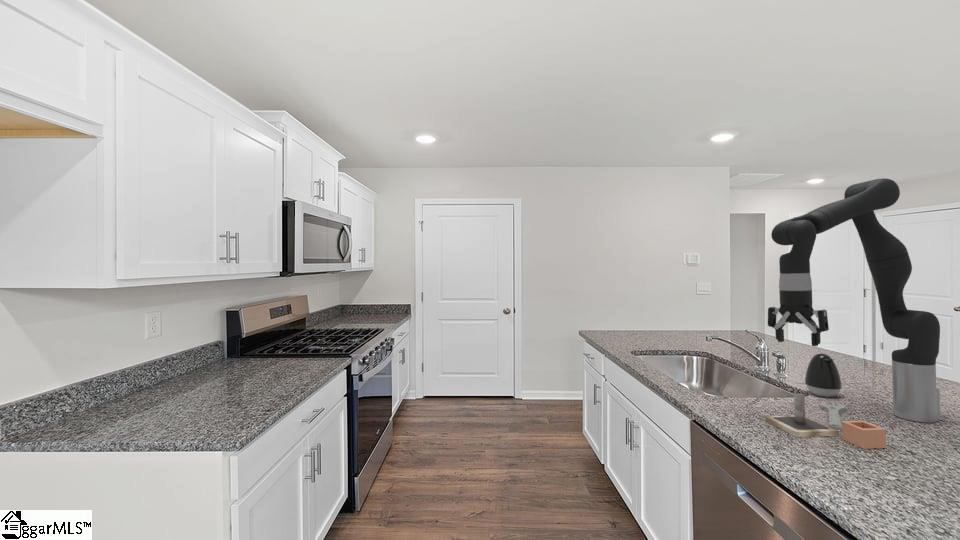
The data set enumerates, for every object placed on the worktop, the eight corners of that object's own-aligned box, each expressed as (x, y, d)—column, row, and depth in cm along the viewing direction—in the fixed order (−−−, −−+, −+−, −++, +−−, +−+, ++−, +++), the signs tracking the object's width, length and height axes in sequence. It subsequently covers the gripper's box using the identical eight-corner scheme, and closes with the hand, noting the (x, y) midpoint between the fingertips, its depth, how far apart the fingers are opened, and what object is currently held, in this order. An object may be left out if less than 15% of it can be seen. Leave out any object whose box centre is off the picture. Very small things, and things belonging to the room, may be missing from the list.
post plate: (803, 419, 123) (802, 387, 123) (838, 436, 111) (838, 400, 111) (765, 421, 123) (764, 388, 123) (796, 437, 111) (795, 401, 111)
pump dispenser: (815, 398, 141) (814, 356, 141) (799, 390, 151) (798, 350, 151) (849, 400, 139) (848, 357, 139) (830, 391, 149) (829, 350, 149)
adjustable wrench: (842, 433, 114) (842, 427, 114) (813, 427, 118) (813, 422, 118) (846, 409, 132) (845, 404, 132) (820, 405, 136) (820, 400, 136)
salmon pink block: (863, 438, 109) (863, 420, 109) (886, 448, 103) (885, 429, 103) (842, 439, 109) (841, 421, 109) (863, 449, 103) (863, 430, 103)
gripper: (831, 288, 112) (833, 345, 112) (774, 287, 125) (776, 338, 125) (818, 290, 108) (820, 349, 109) (761, 288, 121) (763, 341, 121)
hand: (797, 343), depth 117 cm, fingers open, 8 cm apart
